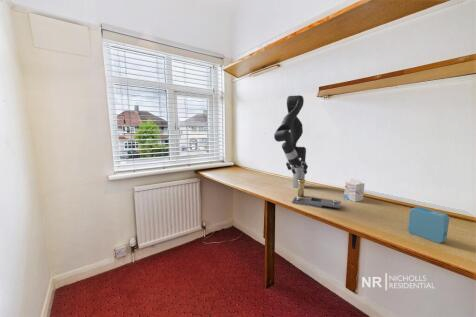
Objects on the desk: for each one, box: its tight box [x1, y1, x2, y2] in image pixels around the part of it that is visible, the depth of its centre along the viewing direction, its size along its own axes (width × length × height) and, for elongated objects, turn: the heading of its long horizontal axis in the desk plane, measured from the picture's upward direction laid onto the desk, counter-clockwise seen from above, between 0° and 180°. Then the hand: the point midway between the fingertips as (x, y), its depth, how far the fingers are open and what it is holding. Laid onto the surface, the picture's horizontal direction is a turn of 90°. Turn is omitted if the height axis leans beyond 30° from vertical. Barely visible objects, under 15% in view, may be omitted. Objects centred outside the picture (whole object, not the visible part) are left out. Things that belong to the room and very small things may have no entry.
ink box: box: [343, 178, 365, 202], centre depth 139 cm, size 9×8×13 cm
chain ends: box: [291, 196, 342, 209], centre depth 131 cm, size 28×9×4 cm, turn 61°
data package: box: [407, 206, 450, 244], centre depth 91 cm, size 12×4×12 cm, turn 30°
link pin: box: [297, 179, 306, 198], centre depth 147 cm, size 5×5×12 cm
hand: (300, 173), depth 146 cm, fingers open, 8 cm apart
